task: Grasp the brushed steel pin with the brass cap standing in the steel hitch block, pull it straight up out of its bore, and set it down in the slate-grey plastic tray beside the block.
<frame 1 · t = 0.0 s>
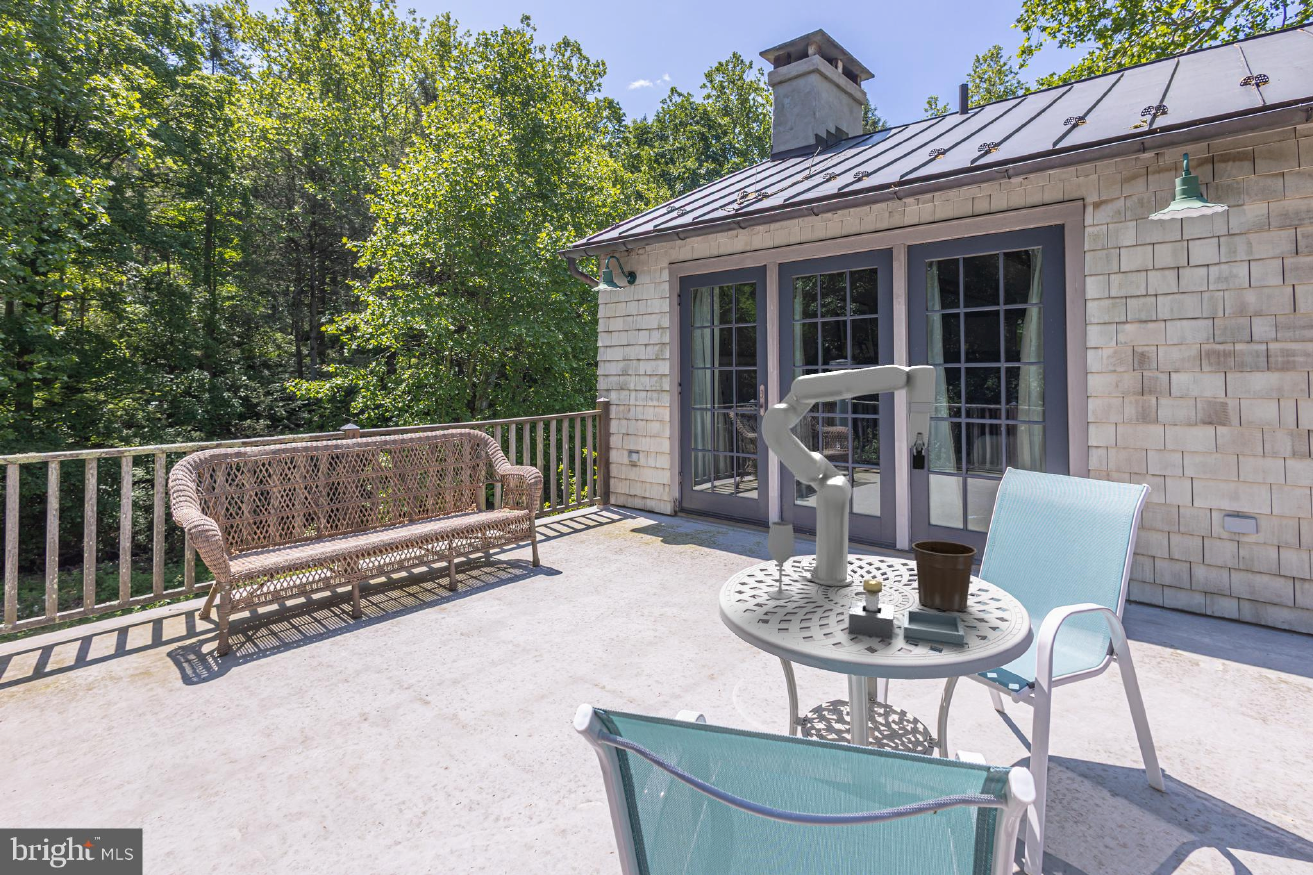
hand: (918, 467, 183), 37 cm above the table, tool pointing down, fingers open, 9 cm apart
pin: (872, 605, 155), in the hitch block
hitch block: (871, 629, 155), on the table
wineglass: (780, 595, 181), on the table
plant pot: (941, 604, 174), on the table
tray: (932, 633, 153), on the table
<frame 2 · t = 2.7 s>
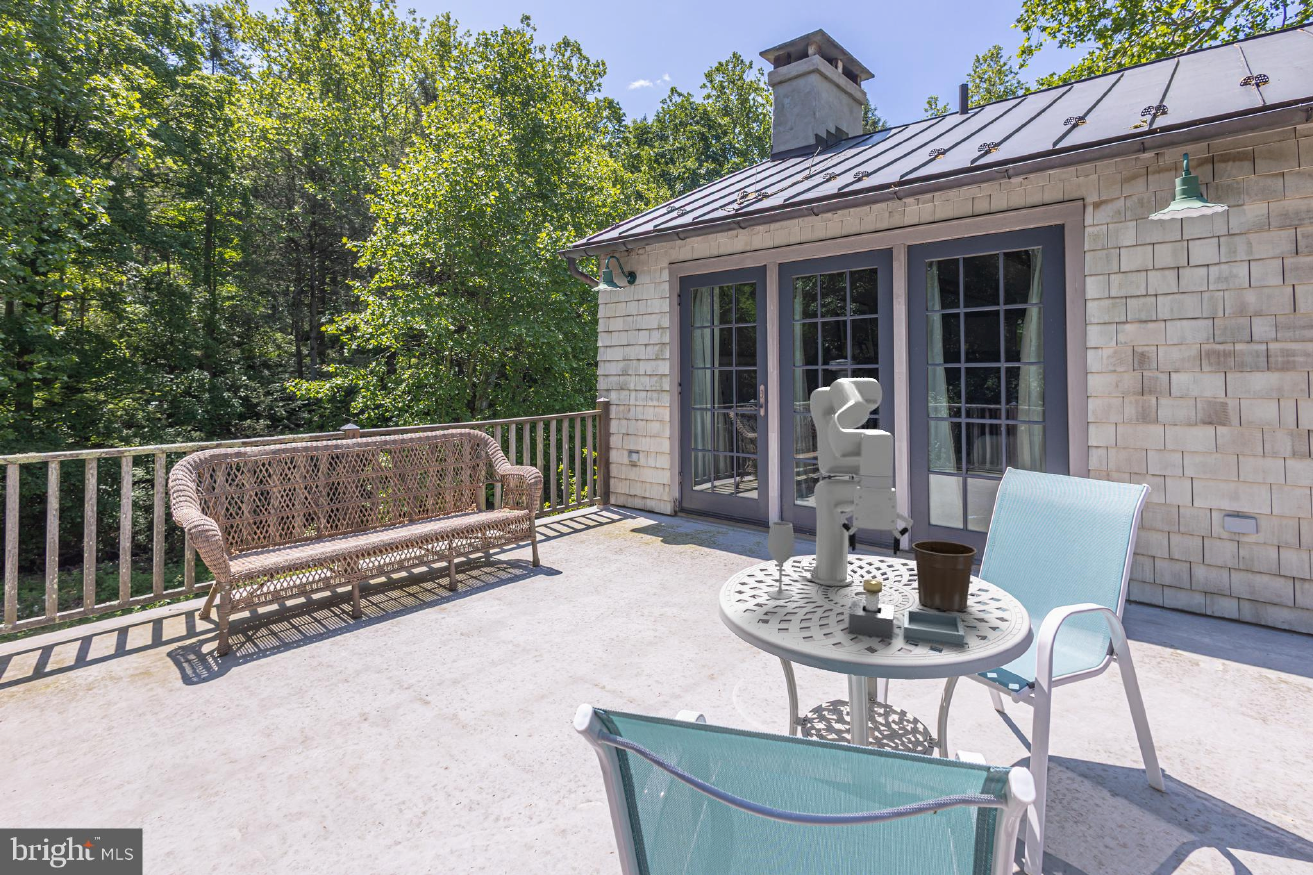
hand: (874, 551, 153), 20 cm above the table, tool pointing down, fingers open, 9 cm apart
nothing on the table moved.
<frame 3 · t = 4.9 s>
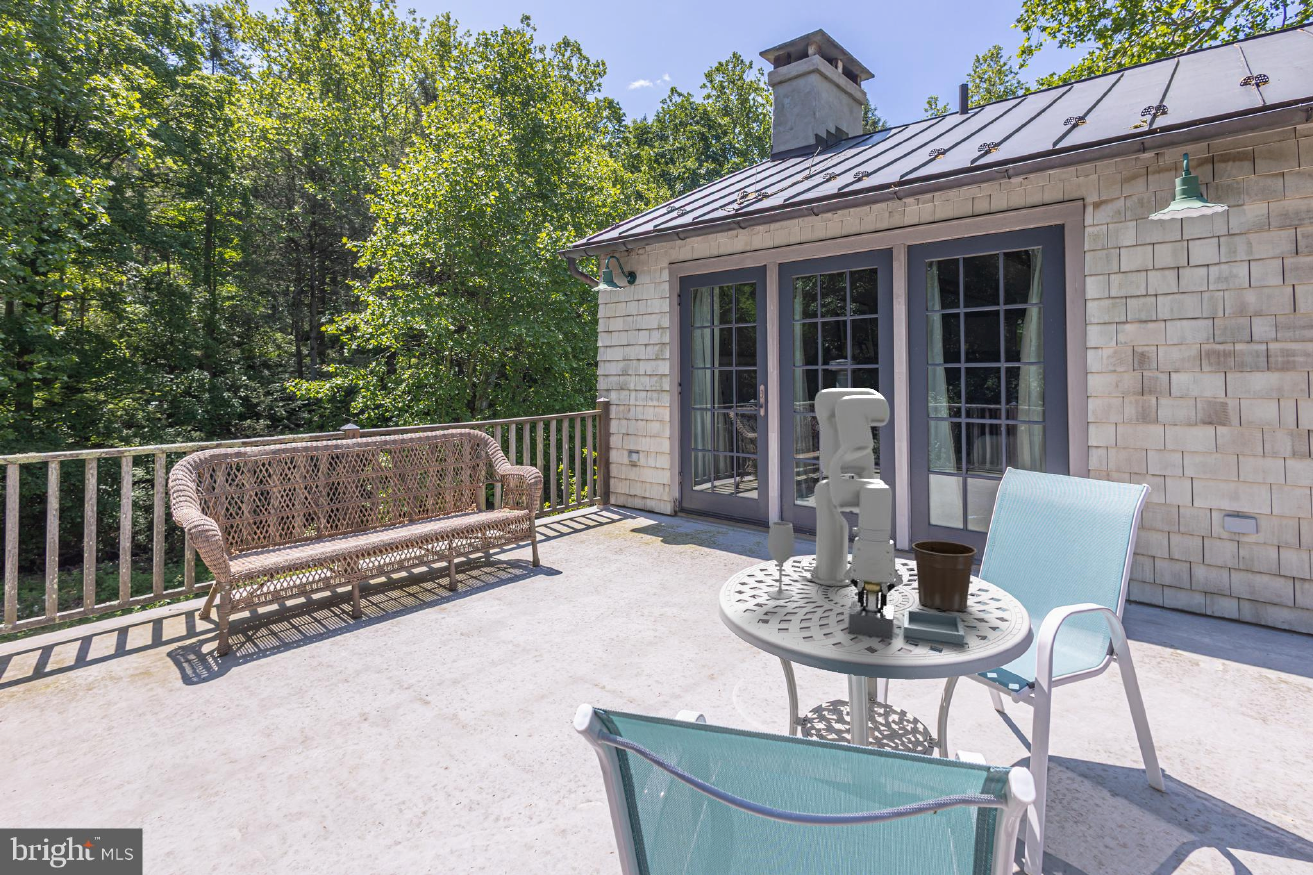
hand: (872, 606, 155), 6 cm above the table, tool pointing down, fingers closed on pin, 4 cm apart
pin: (872, 605, 155), in the hitch block, touching gripper
everything else where it was.
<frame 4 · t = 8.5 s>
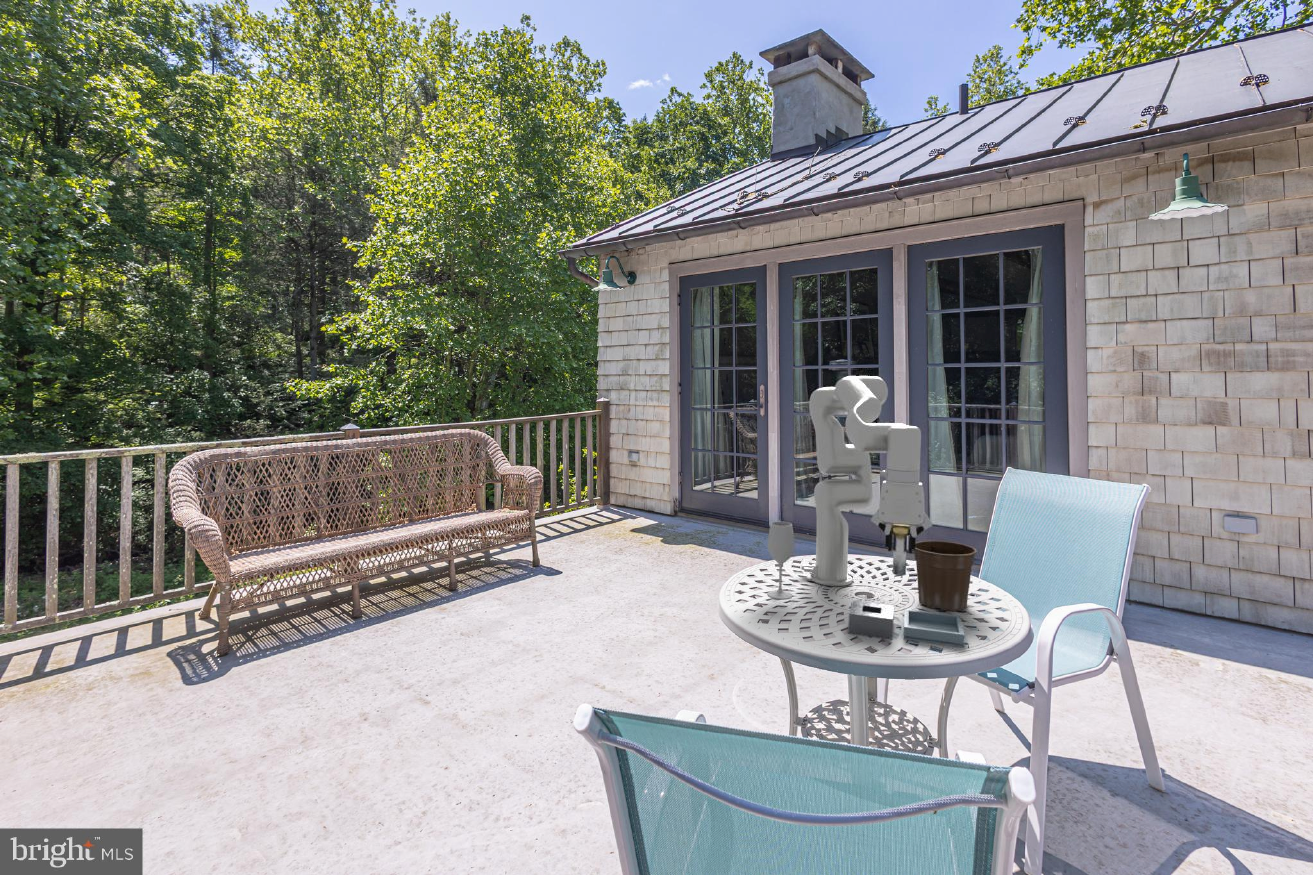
hand: (900, 550, 153), 20 cm above the table, tool pointing down, fingers closed on pin, 4 cm apart
pin: (900, 549, 153), point 20 cm above the table, touching gripper
everything else where it was.
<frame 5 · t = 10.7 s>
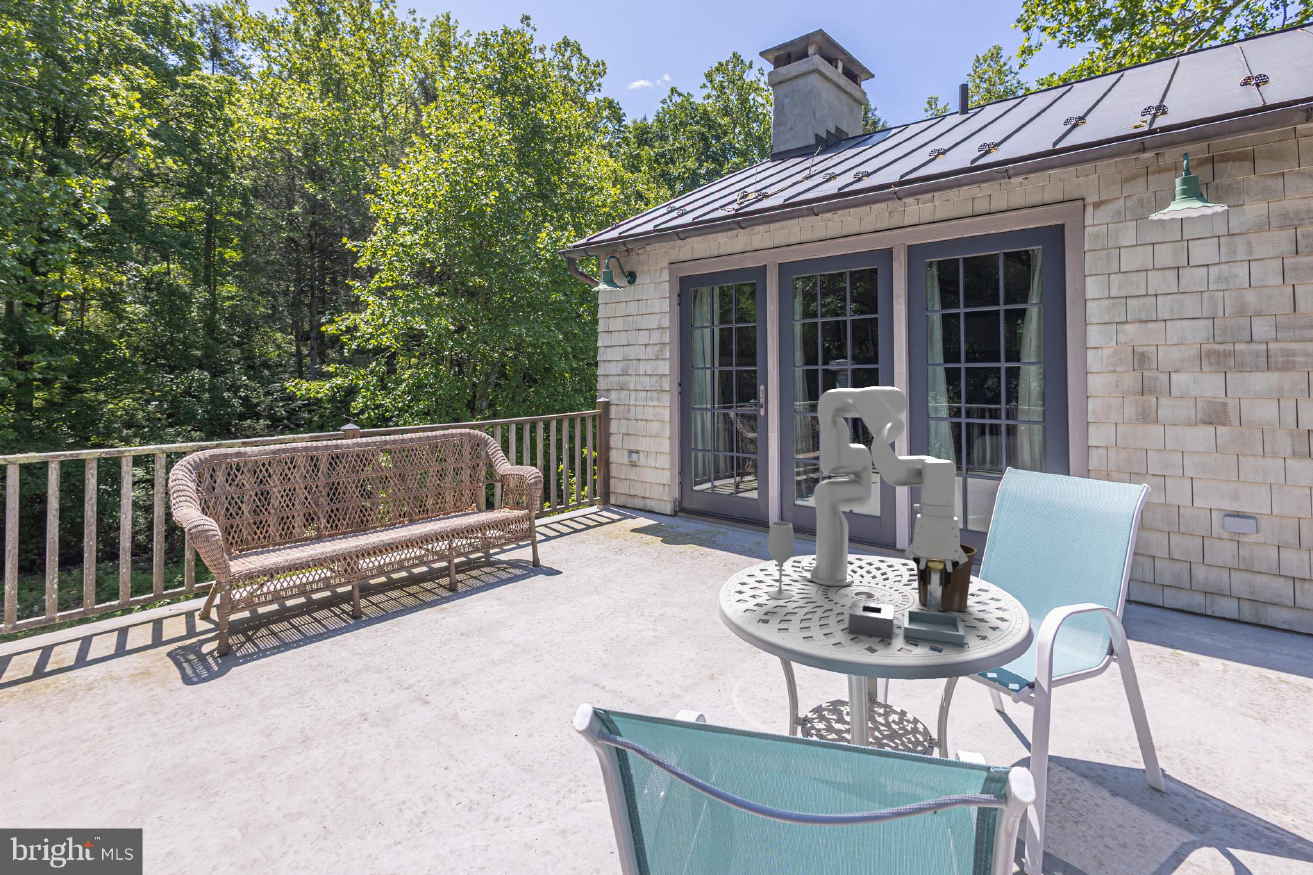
hand: (934, 584, 152), 12 cm above the table, tool pointing down, fingers closed on pin, 4 cm apart
pin: (934, 584, 152), point 12 cm above the table, touching gripper
everything else where it was.
when the fingers open (8 cm above the table, at t = 12.3 s): pin drops 1 cm, resting on tray.
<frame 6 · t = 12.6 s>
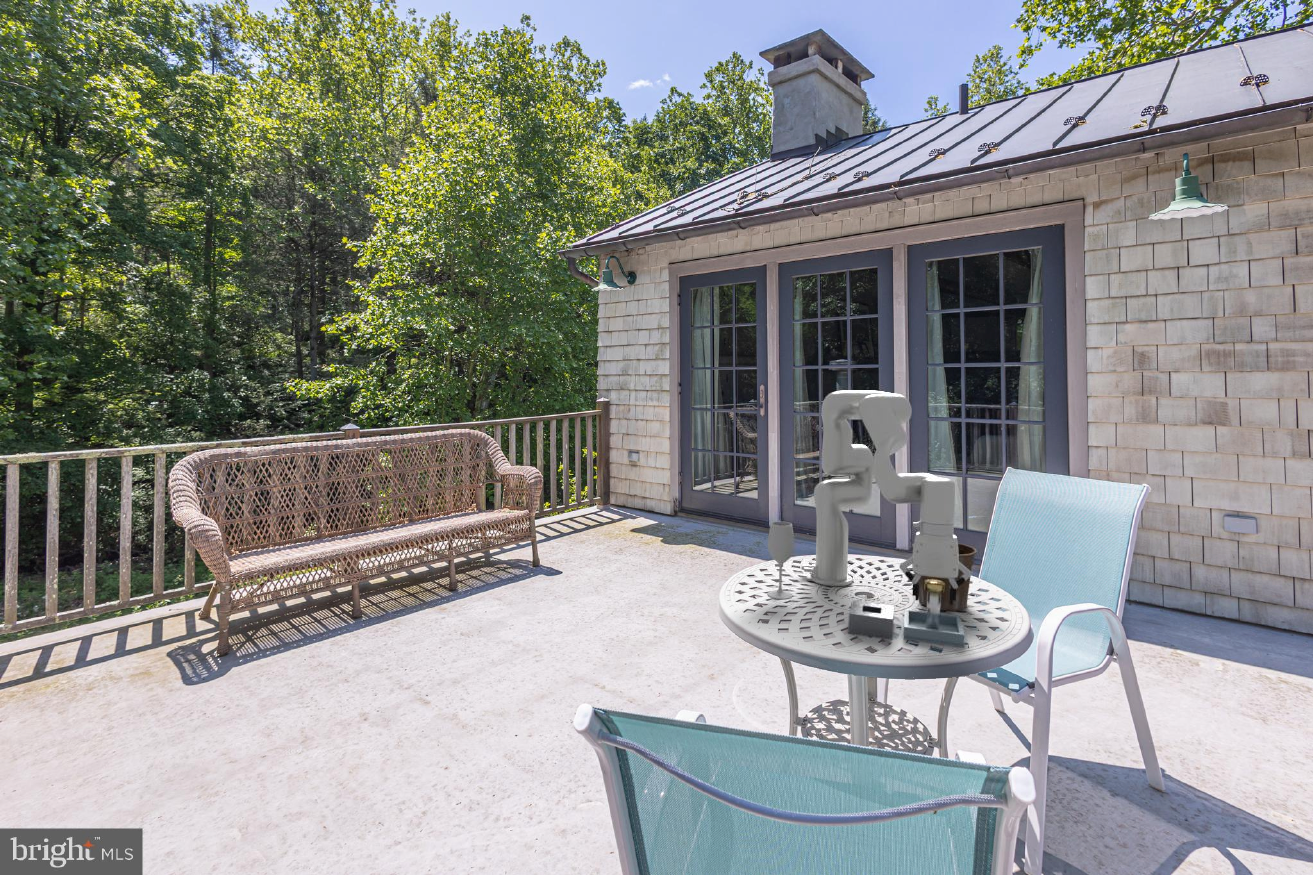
hand: (933, 600, 152), 8 cm above the table, tool pointing down, fingers open, 7 cm apart
pin: (933, 606, 152), in the tray, point 7 cm above the table
everything else where it was.
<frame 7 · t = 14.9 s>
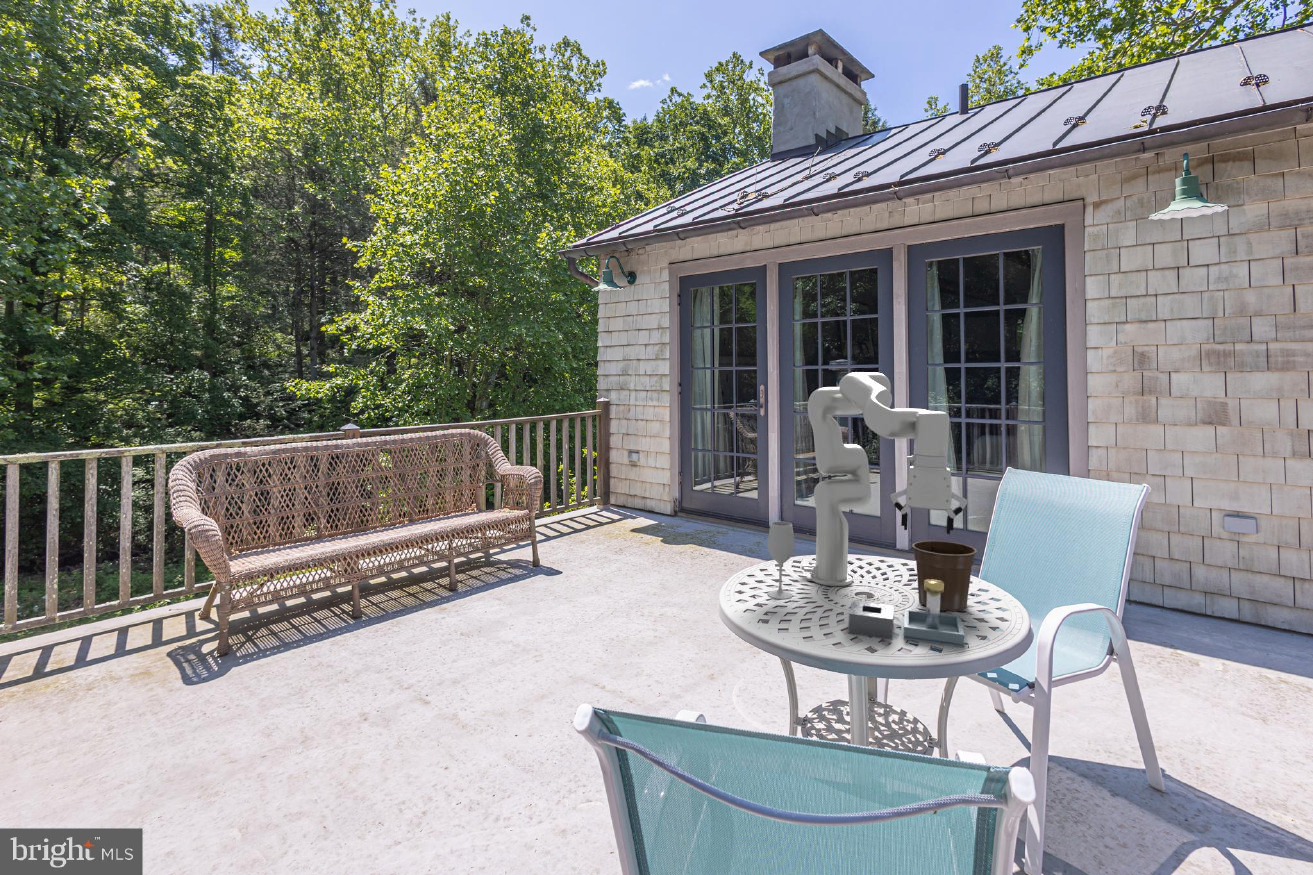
hand: (926, 530, 154), 25 cm above the table, tool pointing down, fingers open, 9 cm apart
nothing on the table moved.
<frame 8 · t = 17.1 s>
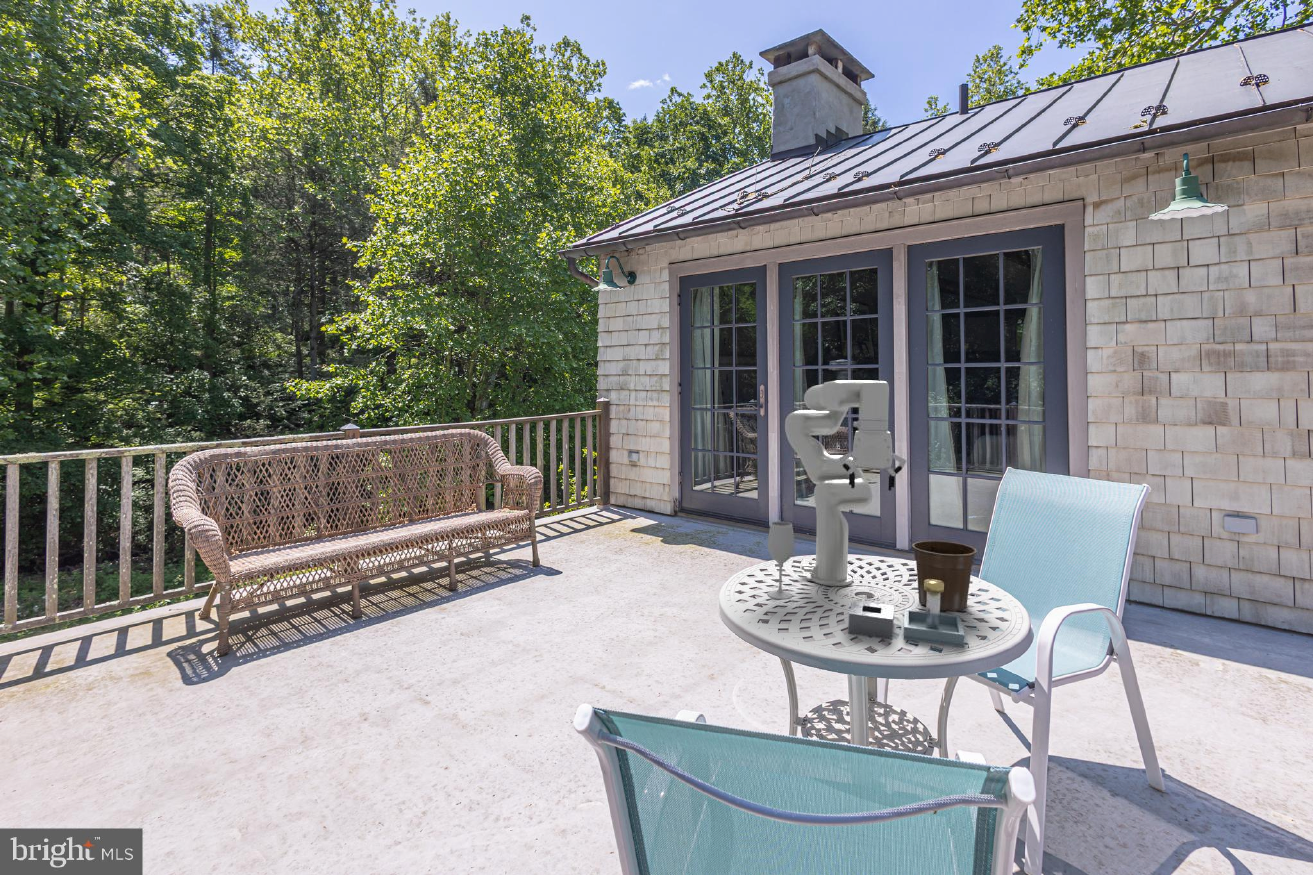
hand: (871, 488, 171), 32 cm above the table, tool pointing down, fingers open, 9 cm apart
nothing on the table moved.
at the end: pin inside the target area on the tray (0.0 cm from its centre), point 6.8 cm above the tray's base; the gripper is holding nothing; pin moved 14.3 cm from its start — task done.
